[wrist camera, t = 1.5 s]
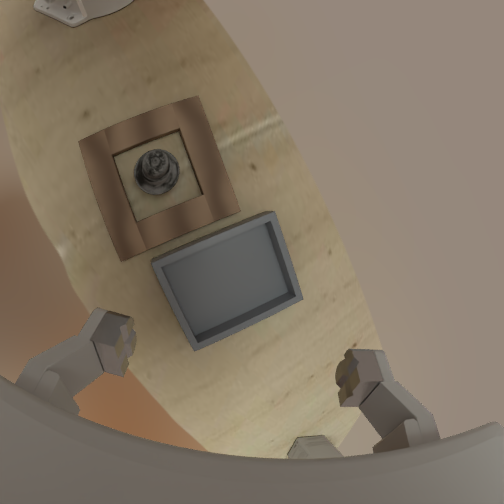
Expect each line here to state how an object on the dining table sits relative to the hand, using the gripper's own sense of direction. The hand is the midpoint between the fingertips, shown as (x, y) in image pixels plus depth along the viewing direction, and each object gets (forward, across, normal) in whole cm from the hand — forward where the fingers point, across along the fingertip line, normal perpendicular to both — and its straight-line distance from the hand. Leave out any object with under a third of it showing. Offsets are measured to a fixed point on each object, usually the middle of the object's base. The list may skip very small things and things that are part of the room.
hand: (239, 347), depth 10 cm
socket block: (+30, +13, +3) cm, 33 cm away
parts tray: (+27, +2, +17) cm, 32 cm away
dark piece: (+30, +14, +4) cm, 33 cm away
